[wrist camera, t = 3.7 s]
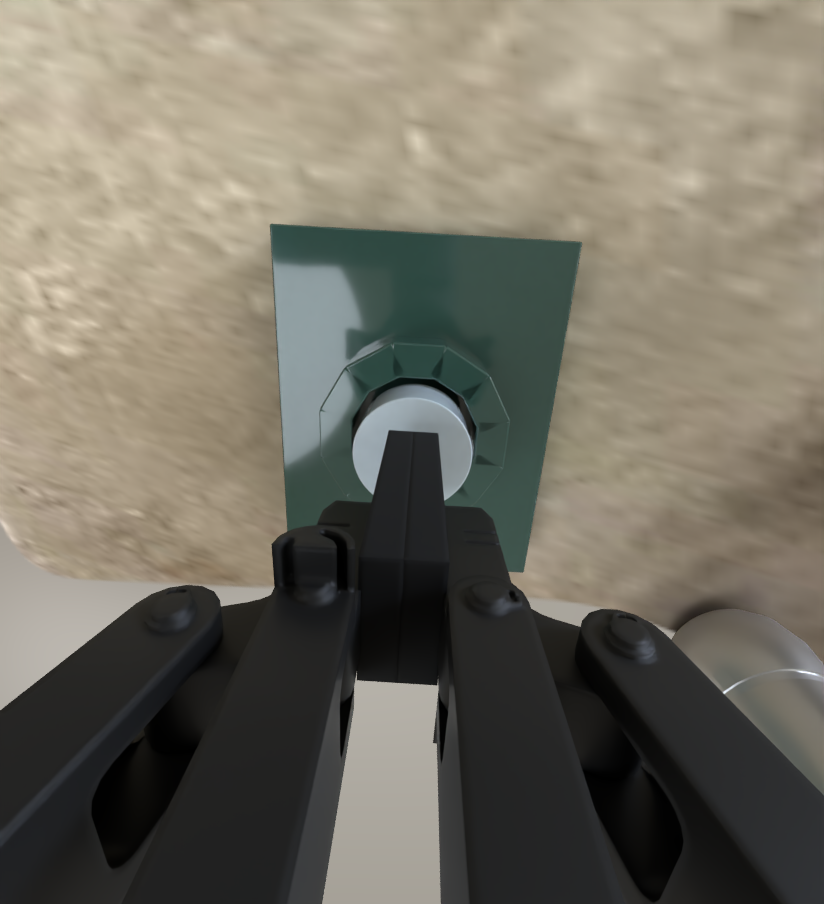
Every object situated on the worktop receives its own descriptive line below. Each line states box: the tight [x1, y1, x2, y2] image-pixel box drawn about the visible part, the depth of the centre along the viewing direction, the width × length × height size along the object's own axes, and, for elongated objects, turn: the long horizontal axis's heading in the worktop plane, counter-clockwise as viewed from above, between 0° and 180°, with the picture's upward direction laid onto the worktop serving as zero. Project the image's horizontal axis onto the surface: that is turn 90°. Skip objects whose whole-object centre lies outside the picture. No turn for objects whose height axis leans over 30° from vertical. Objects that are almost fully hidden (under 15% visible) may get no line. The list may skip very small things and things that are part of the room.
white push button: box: [352, 384, 472, 501], centre depth 16 cm, size 4×4×2 cm
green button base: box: [270, 224, 582, 572], centre depth 18 cm, size 14×11×4 cm
